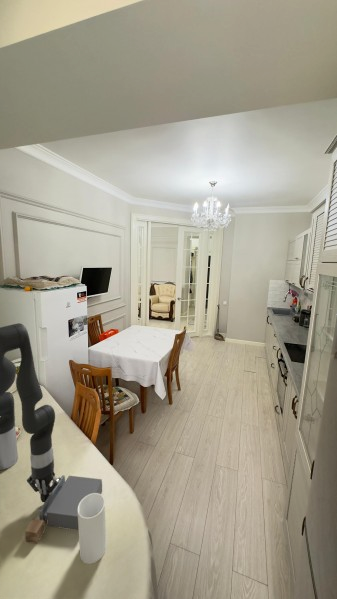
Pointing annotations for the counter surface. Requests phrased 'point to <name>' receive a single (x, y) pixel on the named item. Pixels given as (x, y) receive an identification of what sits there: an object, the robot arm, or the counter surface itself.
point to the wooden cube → (34, 531)
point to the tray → (50, 499)
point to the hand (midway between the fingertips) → (45, 500)
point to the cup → (92, 527)
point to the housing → (71, 501)
